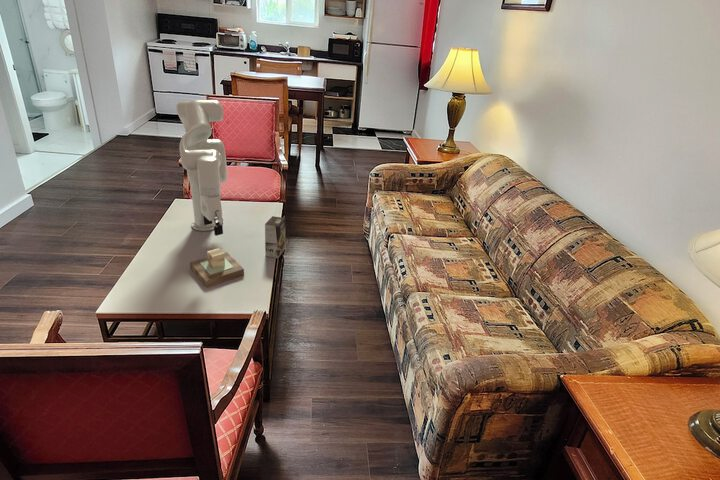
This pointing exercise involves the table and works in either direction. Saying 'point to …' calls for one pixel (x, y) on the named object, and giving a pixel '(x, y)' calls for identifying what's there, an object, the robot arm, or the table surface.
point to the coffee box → (275, 237)
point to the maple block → (216, 258)
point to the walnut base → (216, 271)
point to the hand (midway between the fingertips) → (213, 229)
